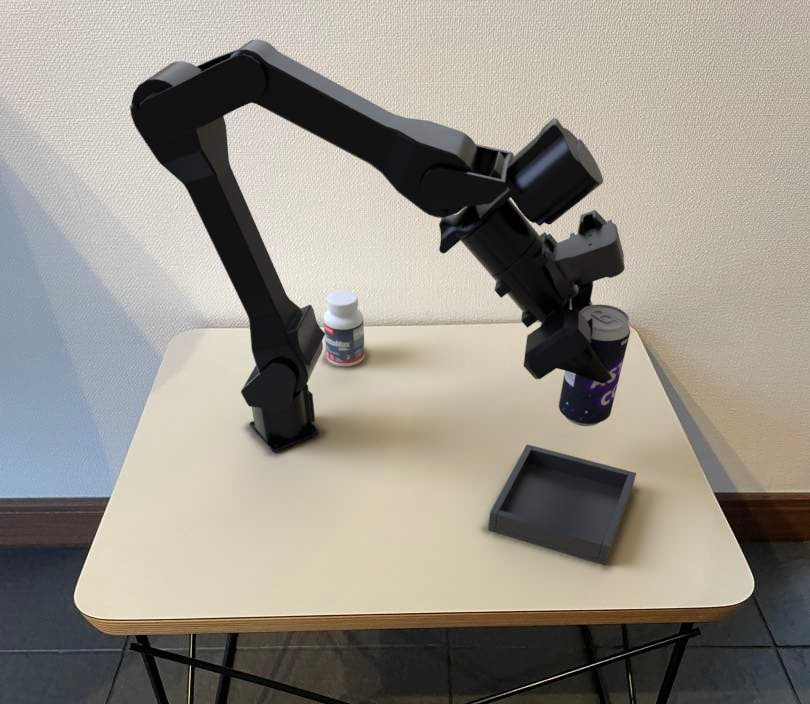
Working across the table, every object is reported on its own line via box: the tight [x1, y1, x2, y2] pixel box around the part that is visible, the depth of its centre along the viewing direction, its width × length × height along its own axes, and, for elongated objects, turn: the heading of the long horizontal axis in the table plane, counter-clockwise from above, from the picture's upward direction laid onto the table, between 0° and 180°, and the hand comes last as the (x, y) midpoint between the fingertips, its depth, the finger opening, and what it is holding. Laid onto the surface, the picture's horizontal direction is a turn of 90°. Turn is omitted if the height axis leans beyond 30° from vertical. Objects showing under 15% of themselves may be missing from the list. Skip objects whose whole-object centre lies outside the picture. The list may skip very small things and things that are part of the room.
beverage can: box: [558, 303, 631, 427], centre depth 80 cm, size 6×6×12 cm
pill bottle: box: [323, 290, 365, 367], centre depth 102 cm, size 5×5×9 cm
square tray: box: [487, 444, 637, 566], centre depth 83 cm, size 13×13×3 cm
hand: (607, 365), depth 80 cm, fingers closed on beverage can, 5 cm apart
